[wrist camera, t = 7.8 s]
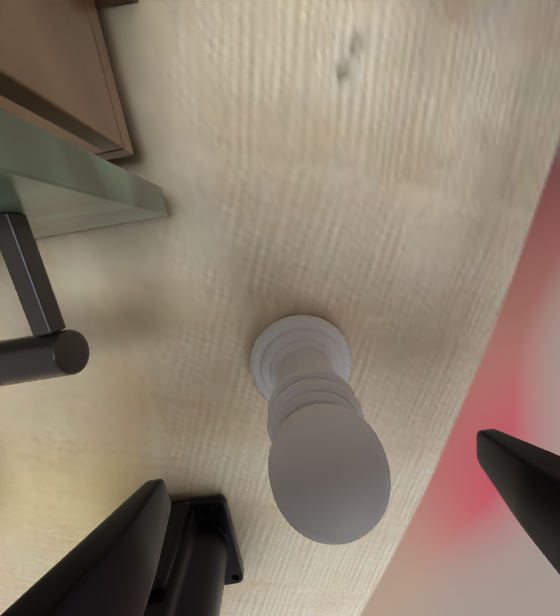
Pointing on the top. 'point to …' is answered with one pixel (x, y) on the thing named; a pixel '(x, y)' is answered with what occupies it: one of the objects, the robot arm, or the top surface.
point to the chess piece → (318, 432)
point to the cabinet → (110, 2)
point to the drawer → (57, 165)
